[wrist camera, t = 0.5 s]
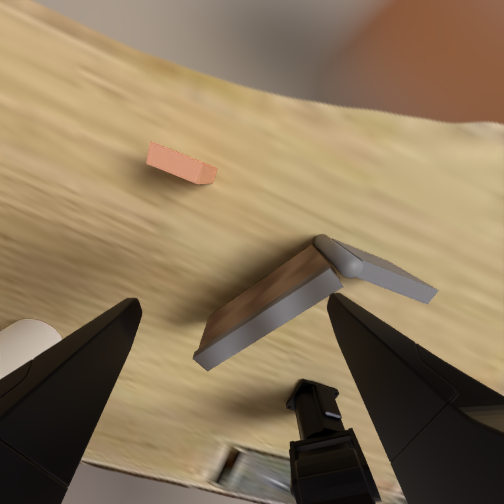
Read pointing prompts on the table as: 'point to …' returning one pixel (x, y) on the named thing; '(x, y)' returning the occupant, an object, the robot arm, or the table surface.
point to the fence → (336, 252)
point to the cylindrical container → (24, 343)
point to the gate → (266, 306)
